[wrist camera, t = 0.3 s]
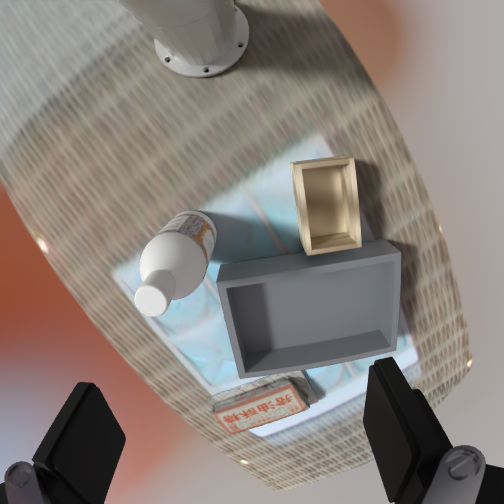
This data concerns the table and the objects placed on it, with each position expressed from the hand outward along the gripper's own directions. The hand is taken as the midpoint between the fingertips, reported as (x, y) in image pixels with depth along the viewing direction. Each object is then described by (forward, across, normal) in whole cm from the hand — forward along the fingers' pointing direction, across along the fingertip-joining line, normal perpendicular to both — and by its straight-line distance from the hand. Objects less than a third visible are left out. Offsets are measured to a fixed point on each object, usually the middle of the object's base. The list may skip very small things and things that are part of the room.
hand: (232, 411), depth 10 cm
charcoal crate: (+35, -7, +15) cm, 38 cm away
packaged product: (+36, +2, +34) cm, 49 cm away
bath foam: (+35, +8, +2) cm, 36 cm away
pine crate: (+35, -10, 0) cm, 36 cm away
